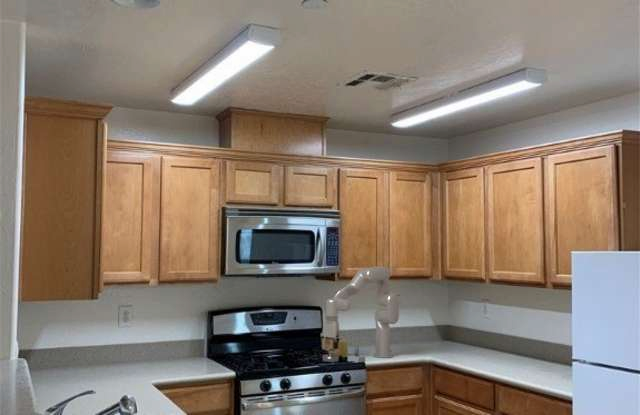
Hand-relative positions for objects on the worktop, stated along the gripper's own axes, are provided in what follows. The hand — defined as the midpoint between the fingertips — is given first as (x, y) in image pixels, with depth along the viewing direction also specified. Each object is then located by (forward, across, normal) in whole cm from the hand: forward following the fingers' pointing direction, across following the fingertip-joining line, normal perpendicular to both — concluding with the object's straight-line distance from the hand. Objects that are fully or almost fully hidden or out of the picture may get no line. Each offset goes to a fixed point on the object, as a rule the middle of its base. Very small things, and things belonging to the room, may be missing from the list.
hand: (330, 347), depth 385 cm
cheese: (+8, -7, +20) cm, 23 cm away
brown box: (+1, 0, 0) cm, 1 cm away
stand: (+8, +12, +11) cm, 18 cm away
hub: (+8, 0, 0) cm, 8 cm away
